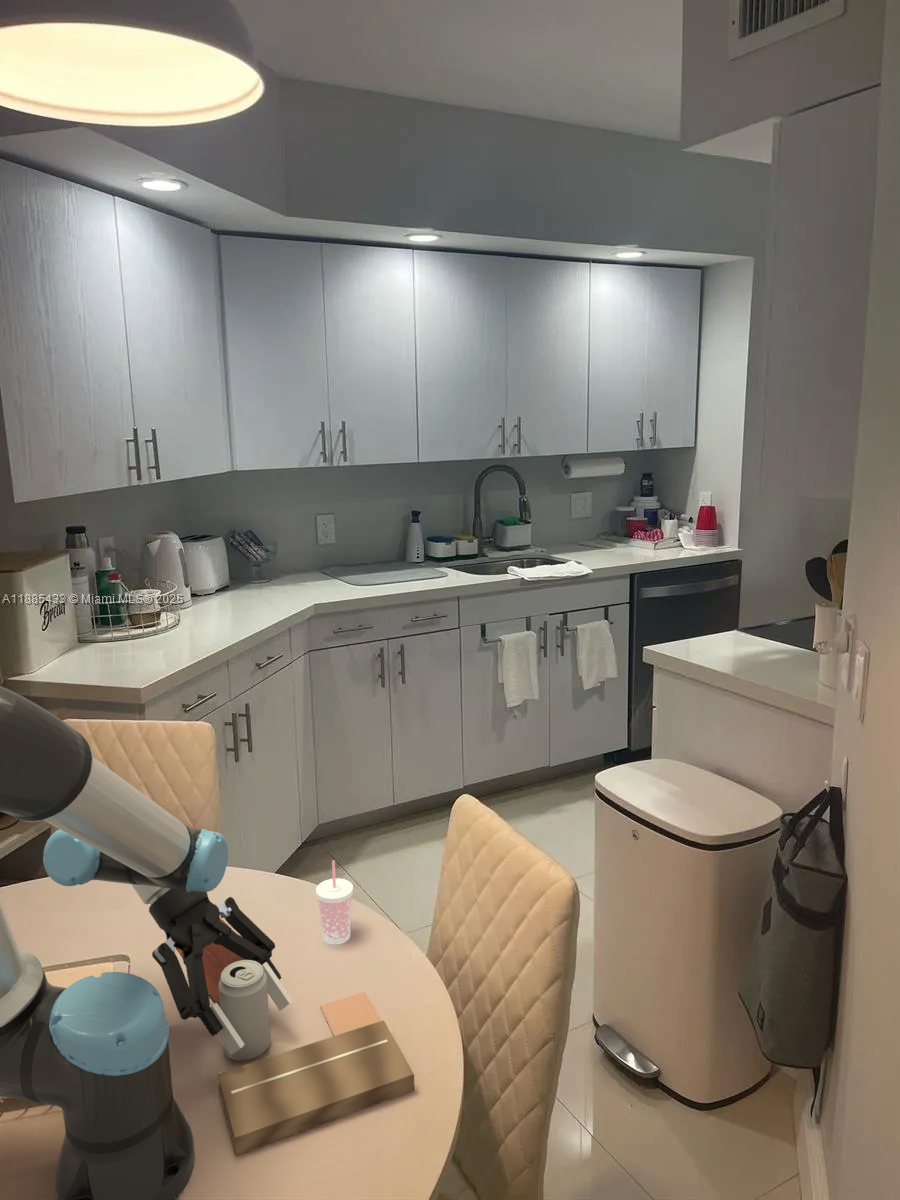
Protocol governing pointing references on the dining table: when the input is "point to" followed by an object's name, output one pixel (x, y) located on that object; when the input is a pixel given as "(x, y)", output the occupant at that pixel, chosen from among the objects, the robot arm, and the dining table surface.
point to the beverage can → (246, 1006)
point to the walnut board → (312, 1085)
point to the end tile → (349, 1013)
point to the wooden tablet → (216, 966)
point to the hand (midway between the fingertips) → (262, 1027)
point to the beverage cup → (335, 908)
